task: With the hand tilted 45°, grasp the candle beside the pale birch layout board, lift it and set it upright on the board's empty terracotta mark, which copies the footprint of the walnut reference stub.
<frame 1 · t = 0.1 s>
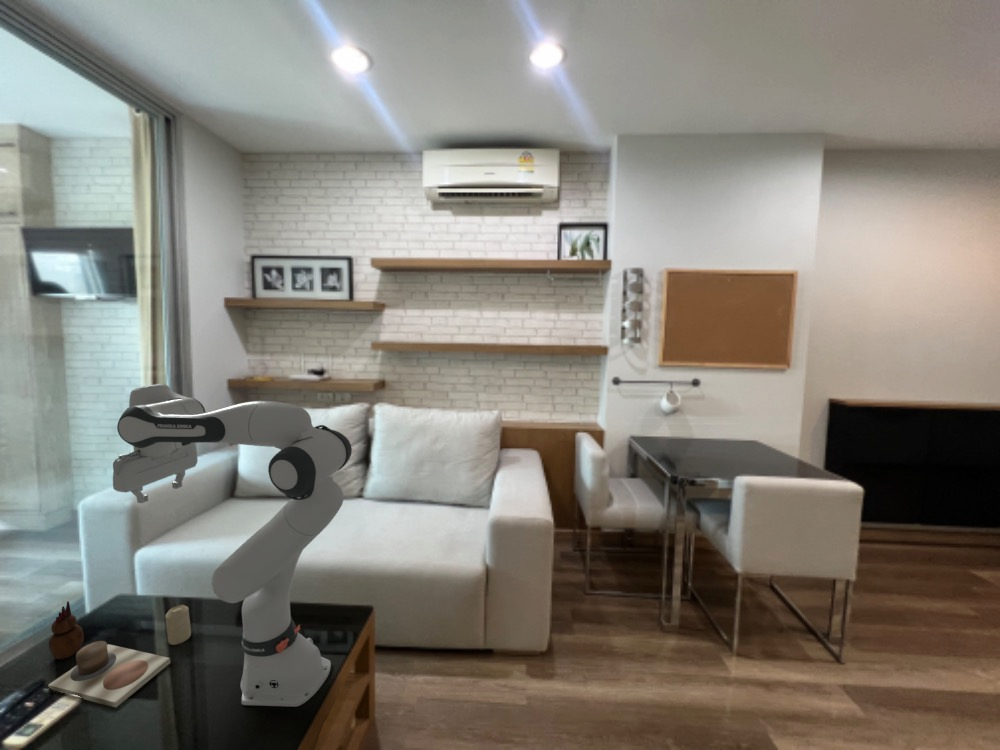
hand: (160, 494, 115), 48 cm above the table, tool pointing down, fingers open, 8 cm apart
layout board: (112, 675, 115), on the table
wooden figurine: (68, 654, 122), on the table
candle: (180, 638, 128), on the table
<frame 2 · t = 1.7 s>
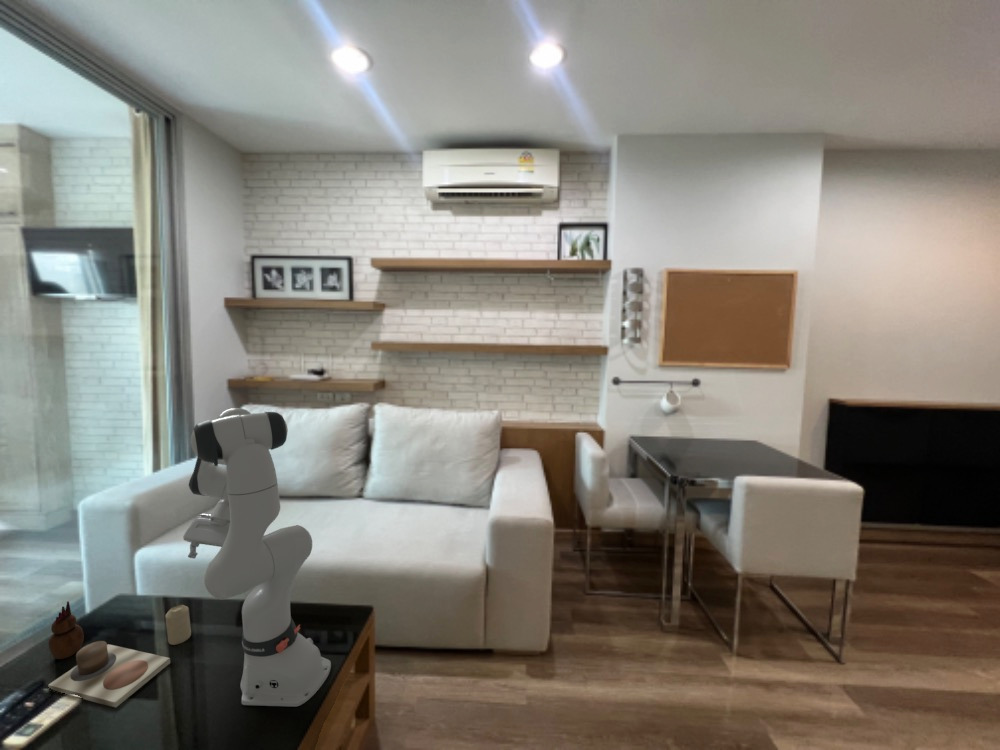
hand: (204, 560, 136), 18 cm above the table, tool tilted 45°, fingers open, 8 cm apart
nothing on the table moved.
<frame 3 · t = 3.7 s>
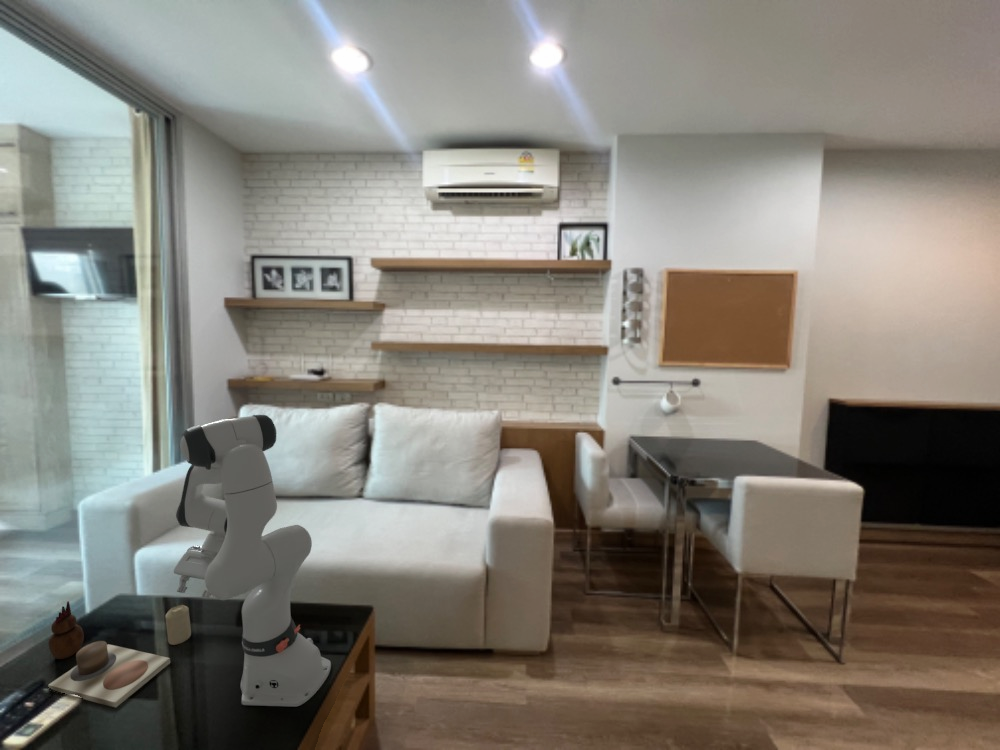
hand: (192, 594, 132), 10 cm above the table, tool tilted 45°, fingers open, 8 cm apart
nothing on the table moved.
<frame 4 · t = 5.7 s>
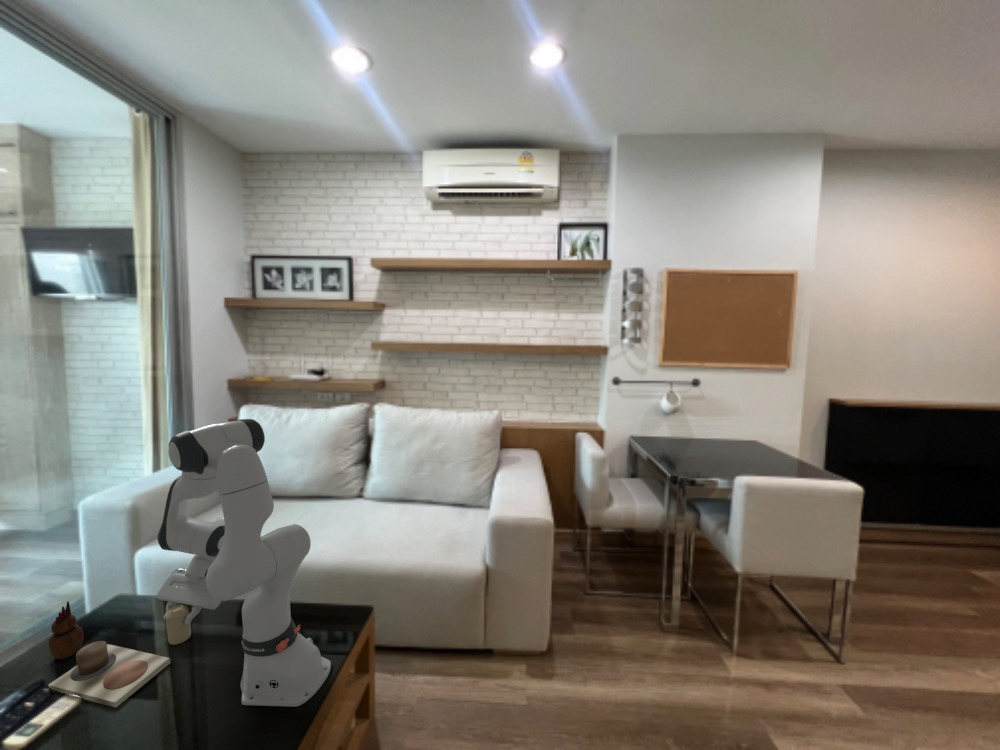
hand: (175, 621, 126), 6 cm above the table, tool tilted 45°, fingers closed on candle, 5 cm apart
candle: (180, 638, 128), on the table, touching gripper
everything else where it was.
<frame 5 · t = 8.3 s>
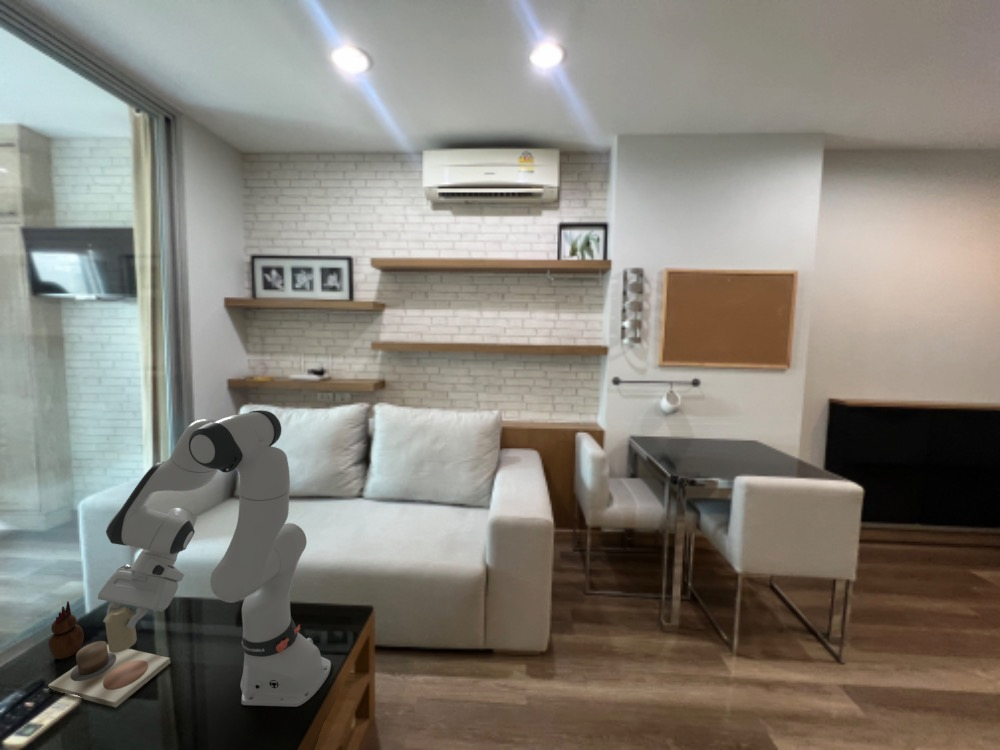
hand: (117, 625, 111), 16 cm above the table, tool tilted 45°, fingers closed on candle, 5 cm apart
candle: (123, 645, 112), point 10 cm above the table, touching gripper
everything else where it was.
when the fingers open (9 cm above the table, at t = 10.8 s): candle stays where it is, resting on layout board.
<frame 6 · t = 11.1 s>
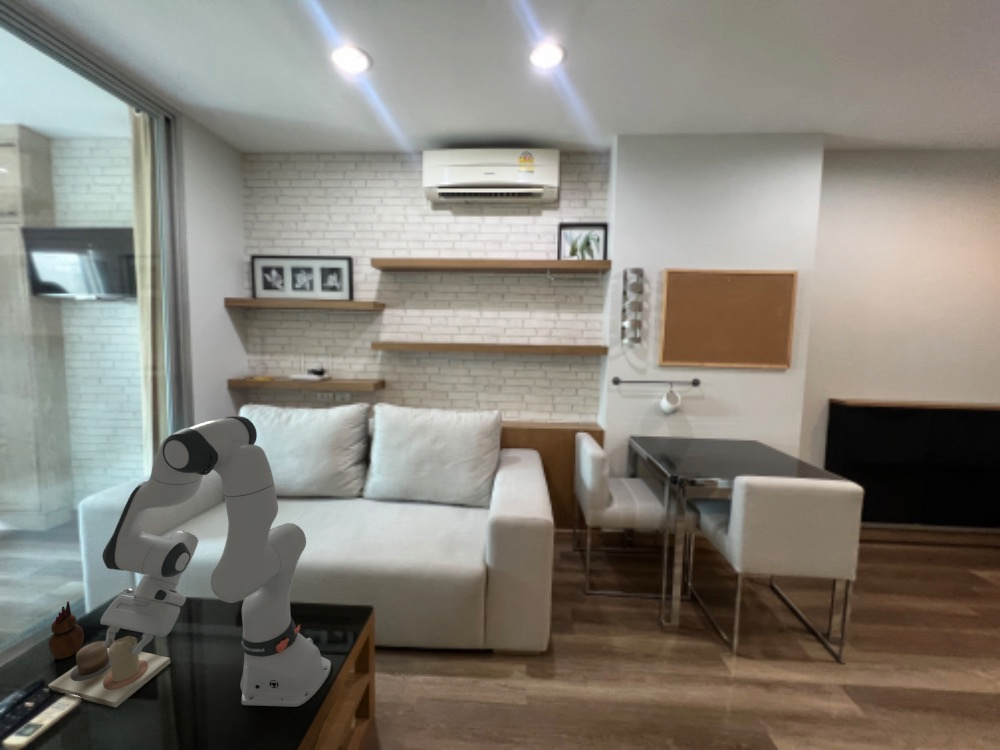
hand: (120, 650, 112), 9 cm above the table, tool tilted 45°, fingers open, 8 cm apart
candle: (126, 674, 113), point 2 cm above the table, touching layout board
everything else where it was.
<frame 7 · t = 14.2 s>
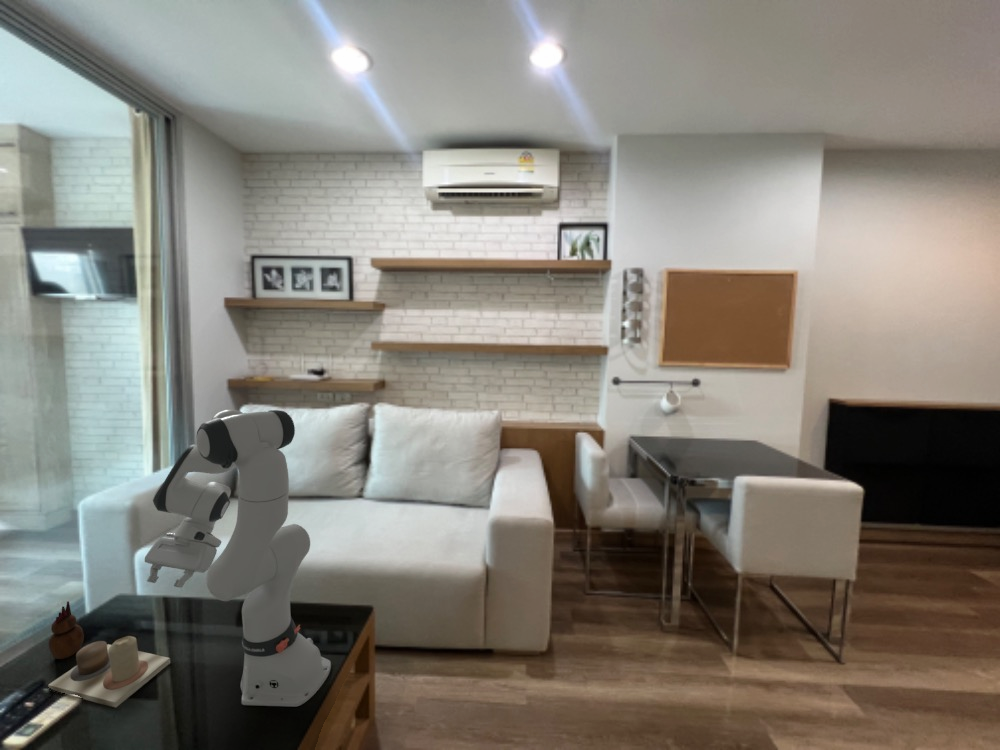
hand: (164, 584, 122), 19 cm above the table, tool tilted 45°, fingers open, 8 cm apart
nothing on the table moved.
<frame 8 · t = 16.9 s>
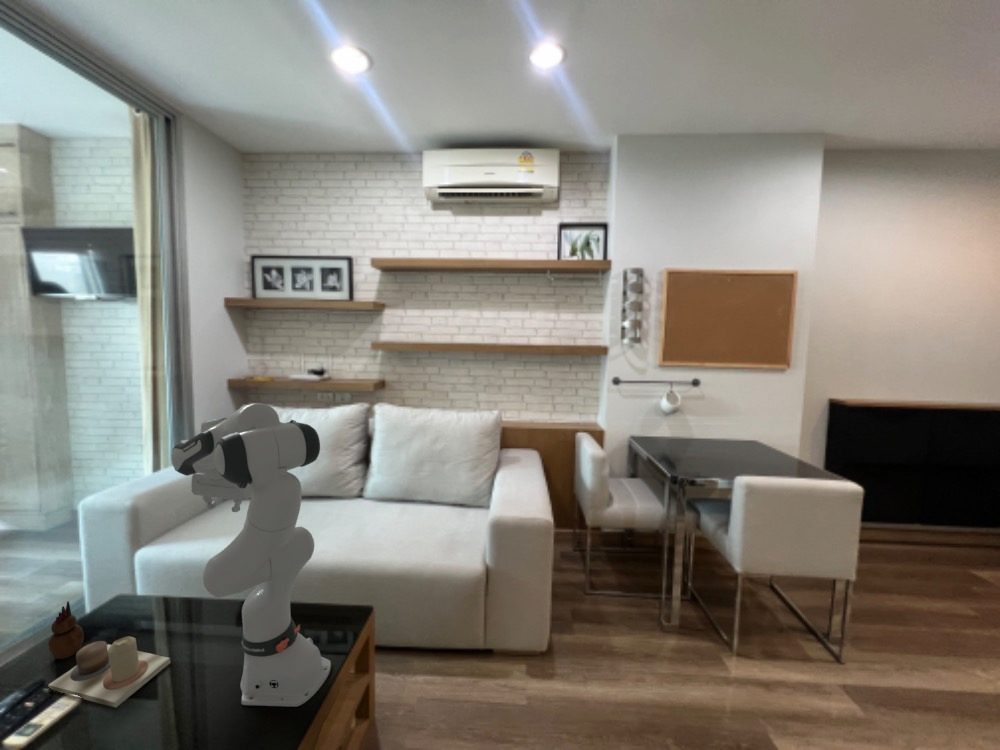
hand: (223, 509, 137), 34 cm above the table, tool pointing down, fingers open, 8 cm apart
nothing on the table moved.
at the end: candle 0.1 cm from the target spot on the layout board, point 1.5 cm above the layout board's base; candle tilted 1°; the gripper is holding nothing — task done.
